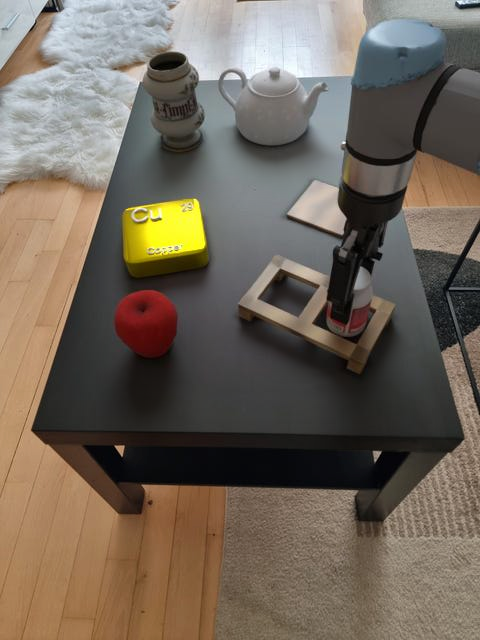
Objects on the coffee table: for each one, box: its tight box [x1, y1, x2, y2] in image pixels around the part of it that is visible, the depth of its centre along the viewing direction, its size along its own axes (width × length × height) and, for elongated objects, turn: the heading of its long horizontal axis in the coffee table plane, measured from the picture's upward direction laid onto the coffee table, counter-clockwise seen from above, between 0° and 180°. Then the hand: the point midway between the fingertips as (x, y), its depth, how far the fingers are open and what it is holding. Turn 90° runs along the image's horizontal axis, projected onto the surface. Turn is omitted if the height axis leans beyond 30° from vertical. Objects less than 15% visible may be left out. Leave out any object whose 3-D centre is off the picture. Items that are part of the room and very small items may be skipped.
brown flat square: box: [286, 179, 347, 238], centre depth 95 cm, size 12×12×1 cm
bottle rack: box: [237, 254, 397, 375], centre depth 79 cm, size 22×13×4 cm, turn 58°
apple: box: [113, 289, 179, 358], centre depth 74 cm, size 10×10×11 cm
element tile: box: [121, 198, 210, 279], centre depth 90 cm, size 15×15×5 cm
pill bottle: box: [326, 267, 374, 338], centre depth 72 cm, size 6×6×11 cm
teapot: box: [217, 66, 329, 146], centre depth 107 cm, size 19×18×14 cm
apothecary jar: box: [142, 50, 206, 153], centre depth 104 cm, size 12×12×18 cm
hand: (349, 303), depth 73 cm, fingers closed on pill bottle, 6 cm apart
